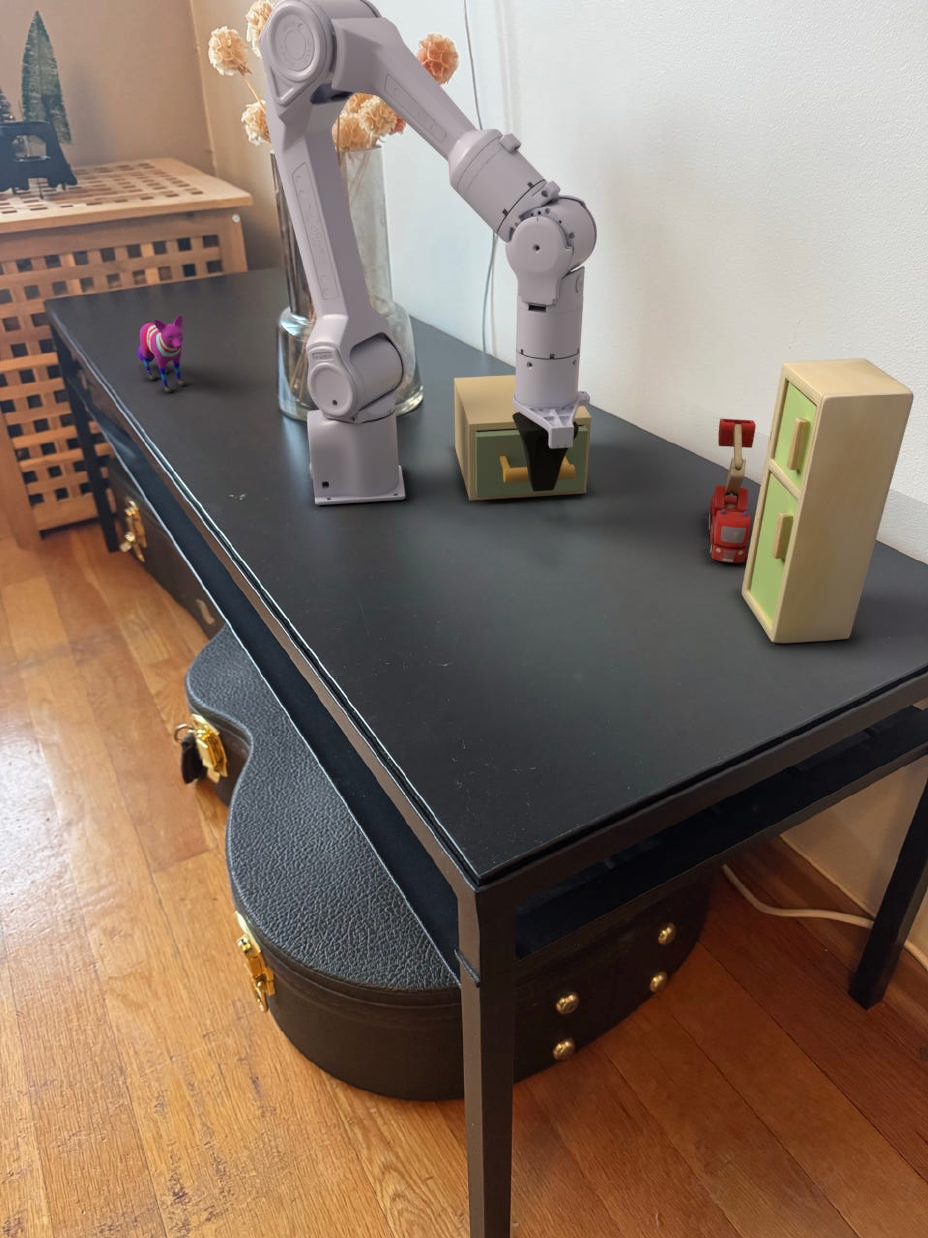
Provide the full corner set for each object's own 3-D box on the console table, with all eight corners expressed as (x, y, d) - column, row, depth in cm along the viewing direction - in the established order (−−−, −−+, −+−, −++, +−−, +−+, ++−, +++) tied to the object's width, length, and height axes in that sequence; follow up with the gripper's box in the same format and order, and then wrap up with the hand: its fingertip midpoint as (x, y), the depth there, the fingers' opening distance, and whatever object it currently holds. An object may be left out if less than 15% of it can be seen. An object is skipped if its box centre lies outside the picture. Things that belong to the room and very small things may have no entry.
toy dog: (177, 403, 120) (161, 324, 114) (130, 367, 132) (114, 294, 126) (203, 396, 122) (189, 319, 116) (155, 362, 134) (140, 290, 128)
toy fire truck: (709, 565, 84) (725, 470, 79) (706, 499, 95) (720, 412, 90) (746, 568, 84) (764, 472, 78) (739, 502, 95) (755, 414, 89)
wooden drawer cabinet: (586, 493, 97) (591, 417, 92) (469, 500, 96) (468, 423, 91) (560, 442, 108) (563, 372, 103) (455, 448, 107) (454, 377, 102)
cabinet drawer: (594, 511, 91) (599, 448, 88) (482, 518, 90) (482, 455, 87) (559, 443, 106) (562, 387, 102) (462, 449, 104) (461, 392, 101)
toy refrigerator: (730, 593, 80) (773, 360, 68) (810, 588, 81) (867, 356, 69) (762, 646, 74) (816, 398, 62) (849, 640, 74) (920, 393, 62)
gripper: (612, 374, 75) (600, 519, 82) (574, 323, 87) (566, 454, 94) (528, 378, 74) (524, 525, 82) (501, 326, 86) (499, 458, 94)
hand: (542, 487), depth 88 cm, fingers closed
